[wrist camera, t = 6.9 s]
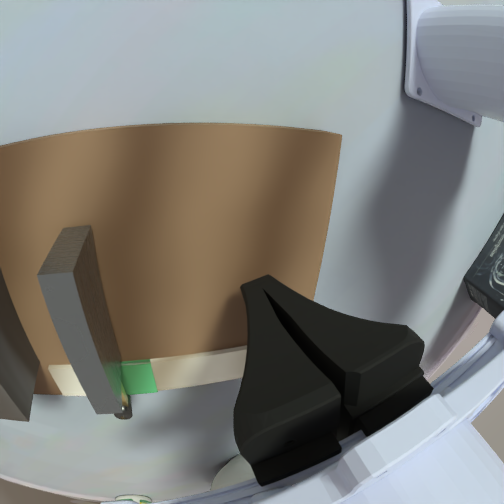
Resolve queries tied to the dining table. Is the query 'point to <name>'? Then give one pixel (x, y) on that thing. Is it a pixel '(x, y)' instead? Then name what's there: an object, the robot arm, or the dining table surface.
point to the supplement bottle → (135, 498)
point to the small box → (489, 274)
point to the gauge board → (159, 244)
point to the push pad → (84, 319)
